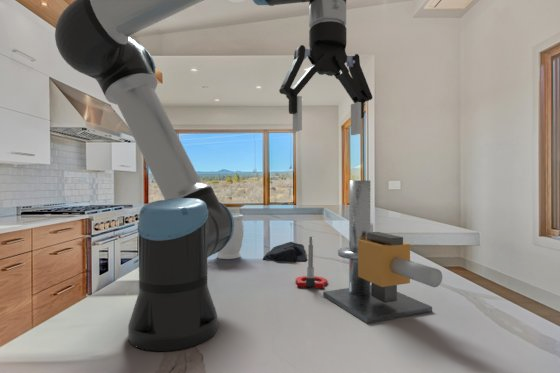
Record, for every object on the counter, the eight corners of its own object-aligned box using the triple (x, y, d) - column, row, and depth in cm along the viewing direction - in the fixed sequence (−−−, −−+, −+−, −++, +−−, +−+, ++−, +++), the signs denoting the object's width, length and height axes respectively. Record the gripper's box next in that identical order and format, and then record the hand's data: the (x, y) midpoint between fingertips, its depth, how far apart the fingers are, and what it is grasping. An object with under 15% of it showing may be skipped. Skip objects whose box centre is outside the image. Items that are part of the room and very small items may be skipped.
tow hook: (297, 279, 96) (293, 288, 87) (297, 232, 96) (294, 236, 87) (327, 280, 95) (327, 289, 86) (328, 233, 95) (327, 237, 86)
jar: (249, 256, 124) (249, 214, 123) (230, 261, 115) (230, 216, 115) (226, 252, 129) (226, 212, 129) (207, 258, 121) (207, 215, 120)
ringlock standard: (367, 323, 65) (367, 180, 64) (319, 293, 83) (319, 180, 82) (432, 311, 71) (432, 180, 70) (374, 285, 88) (374, 180, 88)
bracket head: (419, 303, 59) (419, 256, 58) (357, 276, 75) (358, 239, 75) (450, 298, 61) (450, 253, 61) (384, 273, 78) (384, 237, 78)
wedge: (390, 305, 69) (390, 238, 68) (366, 293, 76) (366, 232, 76) (402, 303, 70) (403, 237, 70) (377, 291, 77) (377, 231, 77)
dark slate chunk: (309, 250, 136) (309, 238, 136) (306, 264, 114) (306, 249, 114) (271, 249, 138) (271, 237, 138) (260, 262, 116) (260, 248, 116)
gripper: (277, 7, 62) (277, 126, 62) (389, 30, 71) (389, 133, 71) (263, 25, 69) (263, 131, 69) (367, 43, 78) (367, 137, 78)
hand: (327, 132), depth 70 cm, fingers open, 13 cm apart
